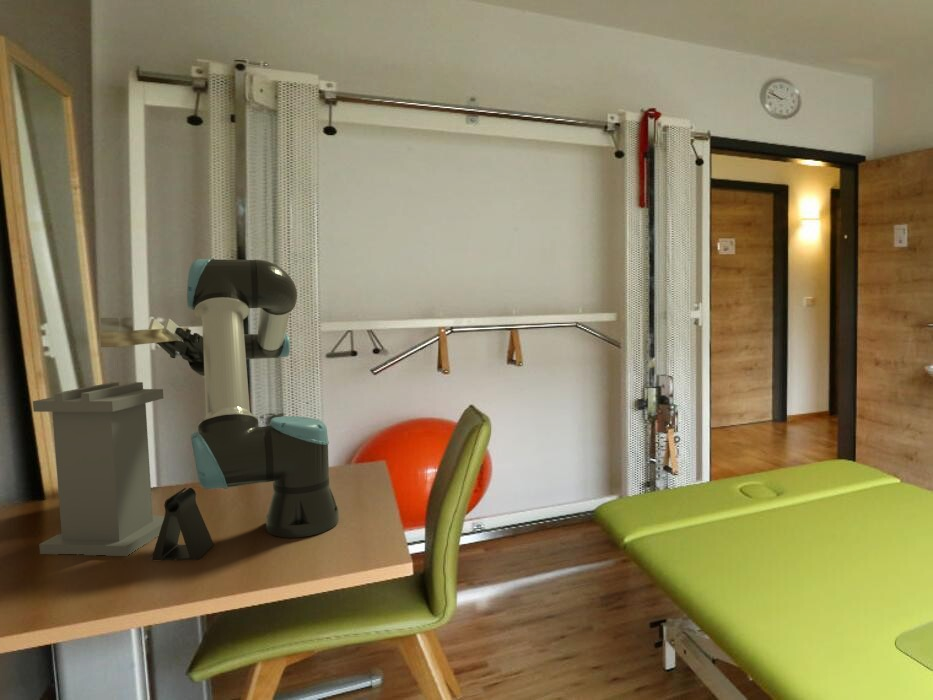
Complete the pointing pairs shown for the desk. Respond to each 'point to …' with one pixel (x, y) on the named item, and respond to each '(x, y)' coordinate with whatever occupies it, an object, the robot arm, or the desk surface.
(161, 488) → the desk surface
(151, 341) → the beam
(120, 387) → the stand
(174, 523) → the dark triangular holder
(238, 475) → the robot arm
